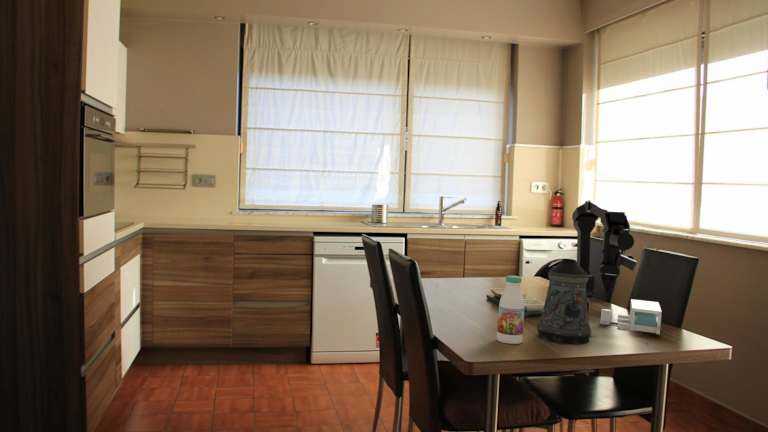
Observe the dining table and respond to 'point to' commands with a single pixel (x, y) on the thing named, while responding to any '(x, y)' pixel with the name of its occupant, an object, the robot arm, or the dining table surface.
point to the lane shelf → (640, 306)
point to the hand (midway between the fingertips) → (608, 291)
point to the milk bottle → (511, 312)
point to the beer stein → (566, 306)
